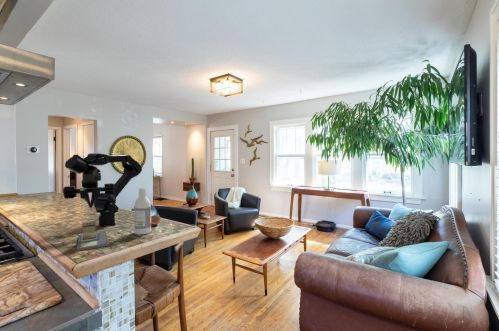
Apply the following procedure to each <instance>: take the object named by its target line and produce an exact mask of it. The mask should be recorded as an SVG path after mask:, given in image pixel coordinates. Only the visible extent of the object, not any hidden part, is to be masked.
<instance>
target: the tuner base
mask: <svg viewBox="0 0 499 331" xmlns="http://www.w3.org/2000/svg"><path fill="white" fill-rule="evenodd" d="M95 235H96V238H95V239H88V240H82V238H83V233H78V235H77V236H78V239H77V242H78V243H77V247H76V251H77V252H78V251H79V252H80V251H87V250H91V249H98V248H99V249H100V248H104V247H109V242H108V235H107V230H100V231H95Z"/></svg>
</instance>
